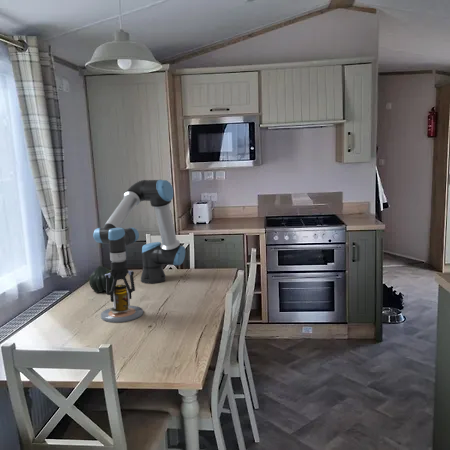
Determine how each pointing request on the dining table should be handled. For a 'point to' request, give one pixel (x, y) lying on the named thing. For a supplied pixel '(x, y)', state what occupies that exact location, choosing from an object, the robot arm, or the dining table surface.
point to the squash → (100, 279)
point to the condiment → (120, 299)
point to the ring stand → (122, 315)
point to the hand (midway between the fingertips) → (121, 306)
